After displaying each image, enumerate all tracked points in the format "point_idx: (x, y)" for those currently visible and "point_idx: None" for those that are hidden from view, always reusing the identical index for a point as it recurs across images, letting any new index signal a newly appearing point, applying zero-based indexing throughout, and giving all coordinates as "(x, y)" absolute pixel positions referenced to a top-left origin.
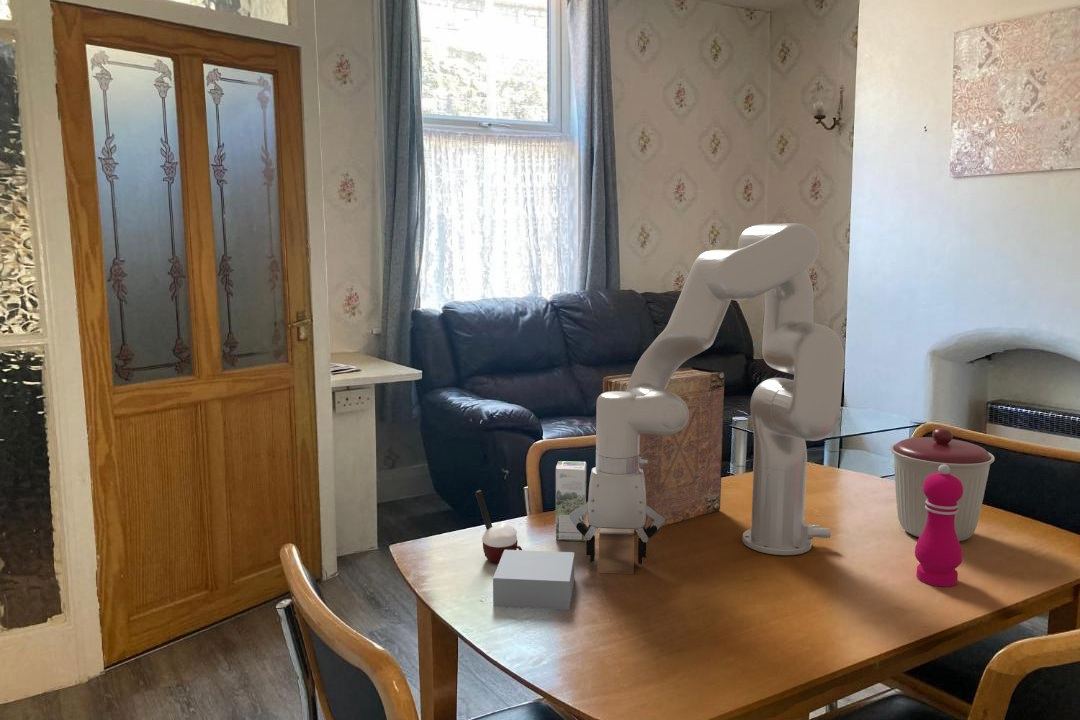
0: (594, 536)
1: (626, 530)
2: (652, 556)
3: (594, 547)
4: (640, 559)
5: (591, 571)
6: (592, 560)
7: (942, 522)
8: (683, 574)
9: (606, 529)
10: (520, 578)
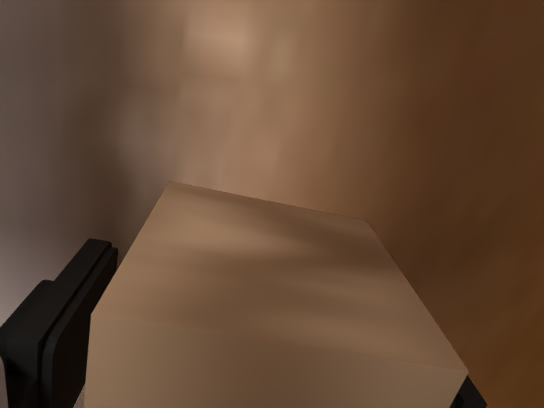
0: (47, 370)
1: (377, 400)
2: (502, 172)
3: (81, 358)
4: None
5: None
6: None
7: None
8: (531, 385)
9: (164, 366)
10: None
